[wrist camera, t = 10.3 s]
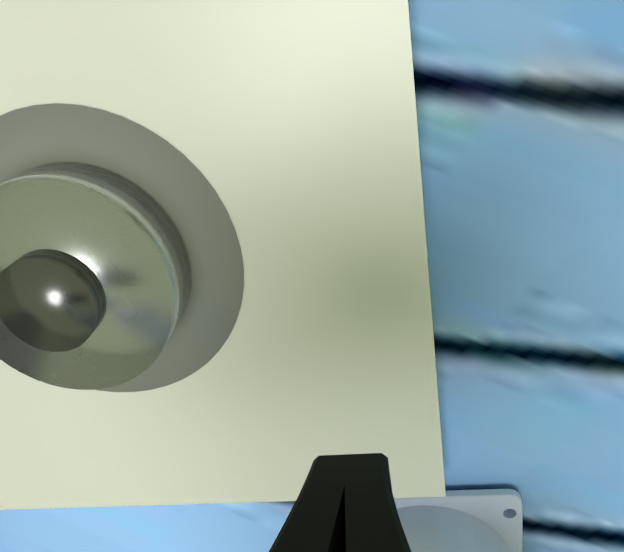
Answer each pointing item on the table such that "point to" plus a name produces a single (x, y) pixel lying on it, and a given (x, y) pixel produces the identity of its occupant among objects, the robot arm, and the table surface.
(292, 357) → the panel
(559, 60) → the table surface
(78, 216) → the dial
